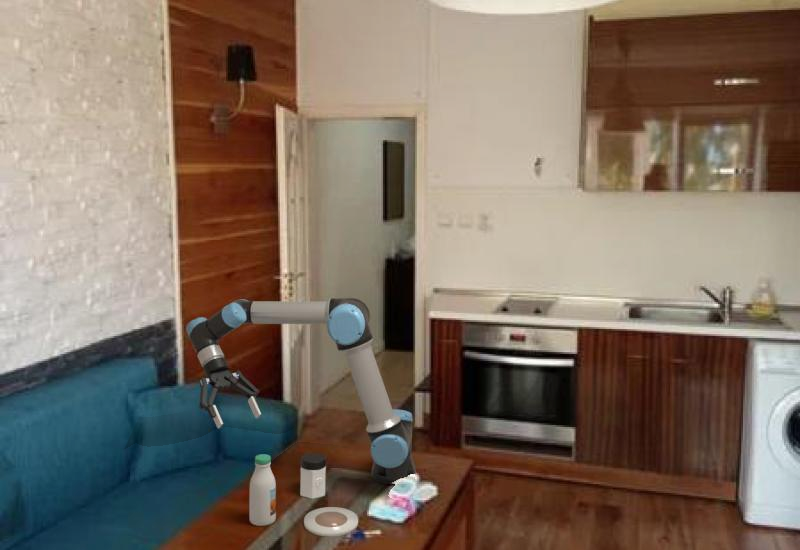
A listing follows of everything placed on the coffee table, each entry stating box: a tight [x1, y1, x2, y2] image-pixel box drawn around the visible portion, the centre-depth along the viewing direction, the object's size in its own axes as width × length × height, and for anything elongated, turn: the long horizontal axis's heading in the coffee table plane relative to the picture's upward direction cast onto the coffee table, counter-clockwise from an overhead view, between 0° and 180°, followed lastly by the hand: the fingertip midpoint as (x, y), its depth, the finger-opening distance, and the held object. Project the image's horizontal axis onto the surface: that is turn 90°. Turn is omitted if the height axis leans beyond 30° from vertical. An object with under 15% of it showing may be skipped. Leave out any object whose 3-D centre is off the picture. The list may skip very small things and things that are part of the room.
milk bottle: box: [248, 453, 277, 527], centre depth 226 cm, size 8×8×20 cm
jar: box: [299, 452, 327, 500], centre depth 246 cm, size 9×8×12 cm
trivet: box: [303, 506, 359, 538], centre depth 227 cm, size 16×16×1 cm
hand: (239, 421), depth 234 cm, fingers open, 13 cm apart
